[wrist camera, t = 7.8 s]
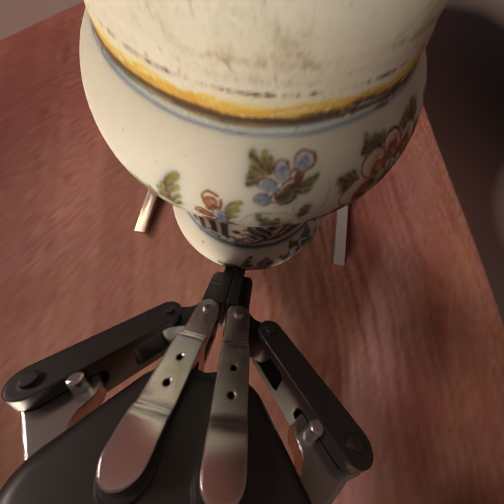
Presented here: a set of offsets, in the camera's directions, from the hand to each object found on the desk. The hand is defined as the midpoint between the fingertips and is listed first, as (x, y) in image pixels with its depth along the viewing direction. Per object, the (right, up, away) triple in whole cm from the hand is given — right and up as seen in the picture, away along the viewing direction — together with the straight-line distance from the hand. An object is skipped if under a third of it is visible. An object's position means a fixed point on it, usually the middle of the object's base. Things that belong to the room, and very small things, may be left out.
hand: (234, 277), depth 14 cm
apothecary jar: (+1, +5, +7) cm, 8 cm away
